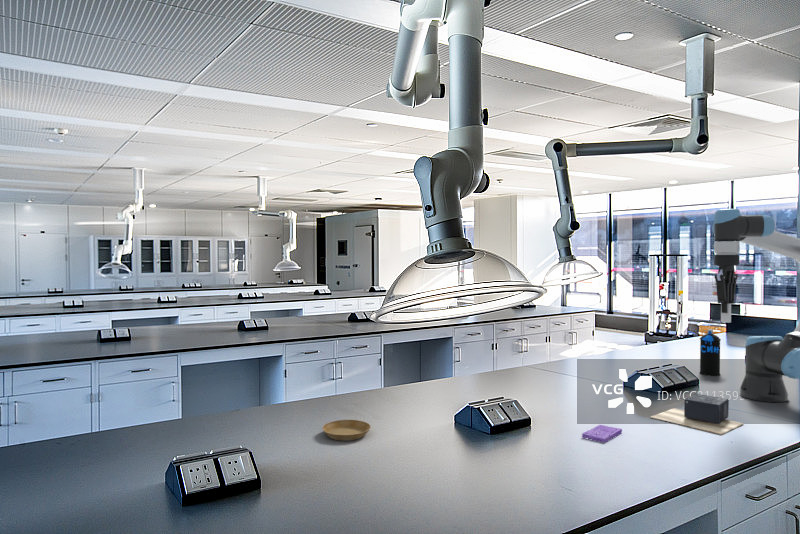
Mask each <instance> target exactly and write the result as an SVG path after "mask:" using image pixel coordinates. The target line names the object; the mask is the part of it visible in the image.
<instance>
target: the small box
mask: <svg viewBox="0 0 800 534" xmlns="http://www.w3.org/2000/svg"><path fill="white" fill-rule="evenodd" d="M729 401H730V400H729V398H723V397H718V396H713V395H712V396H711V395H704V394H701V393H693V394H692V395H691V396H688V397H687V398H685V399H684V401H683V402H684V403H683V404H684V409H683V410H684V417H686V418H691V419H696V420H702V421H707V422H712V423H717V424H719V423H721V422H722V421H723V420H725V419H726V420H727V419H728V418H729V410H730V409H729V406H730V403H729Z"/></svg>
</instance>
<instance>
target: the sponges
mask: <svg viewBox="0 0 800 534" xmlns="http://www.w3.org/2000/svg"><path fill="white" fill-rule="evenodd" d="M622 432H623V428H621V427H613V426H608V425H607V426H606V425H603V424H598V425H597V426H595V427H593V428H590V429H588V430H586V431H584V432H583V433H581V438H582V437H583V438H582V439H585V438H588V439H587V440H589V439H592V440H591V441H594V440H596V441H595V442H598V441H600V442H599V443H602V442H605V443H607V442H608V440H609V441H611V440H612V439H614V438H616V437H617V436H619V435H620V434H622ZM618 434H619V435H618ZM615 436H616V437H615ZM613 437H614V438H613ZM611 438H612V439H611ZM610 439H611V440H610ZM606 441H607V442H606Z"/></svg>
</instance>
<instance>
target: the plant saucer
mask: <svg viewBox="0 0 800 534" xmlns="http://www.w3.org/2000/svg"><path fill="white" fill-rule="evenodd" d="M370 429H371V424H370V423H368V422H366V421H363V420H358V419H340V420H335V421H329V422H327V423H325V424H323V425H322V427H321V430H322V431H323V433H324V434H325V435H327V436H328V437H329V438H330V439H332V440H334V441H354V440H359V439H362V438H363V437H364V436H365V435H367V434H368V433H369V431H370Z"/></svg>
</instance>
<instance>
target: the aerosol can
mask: <svg viewBox="0 0 800 534" xmlns="http://www.w3.org/2000/svg"><path fill="white" fill-rule="evenodd" d="M713 330H714V329H712V328H708V329H707V333H706V334H704V335H701V337H699V340H700V341H699V342H700V345H699V346H700V347H699V349H700V350H699V352H700V353H699V355H700V356H699V360H700V361H699V364H700V365H699V374H700V375H703V376H709V377H719V376H721V341H722V340H721V338H720V337H719V336H718V335H716V334H714V331H713Z"/></svg>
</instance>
